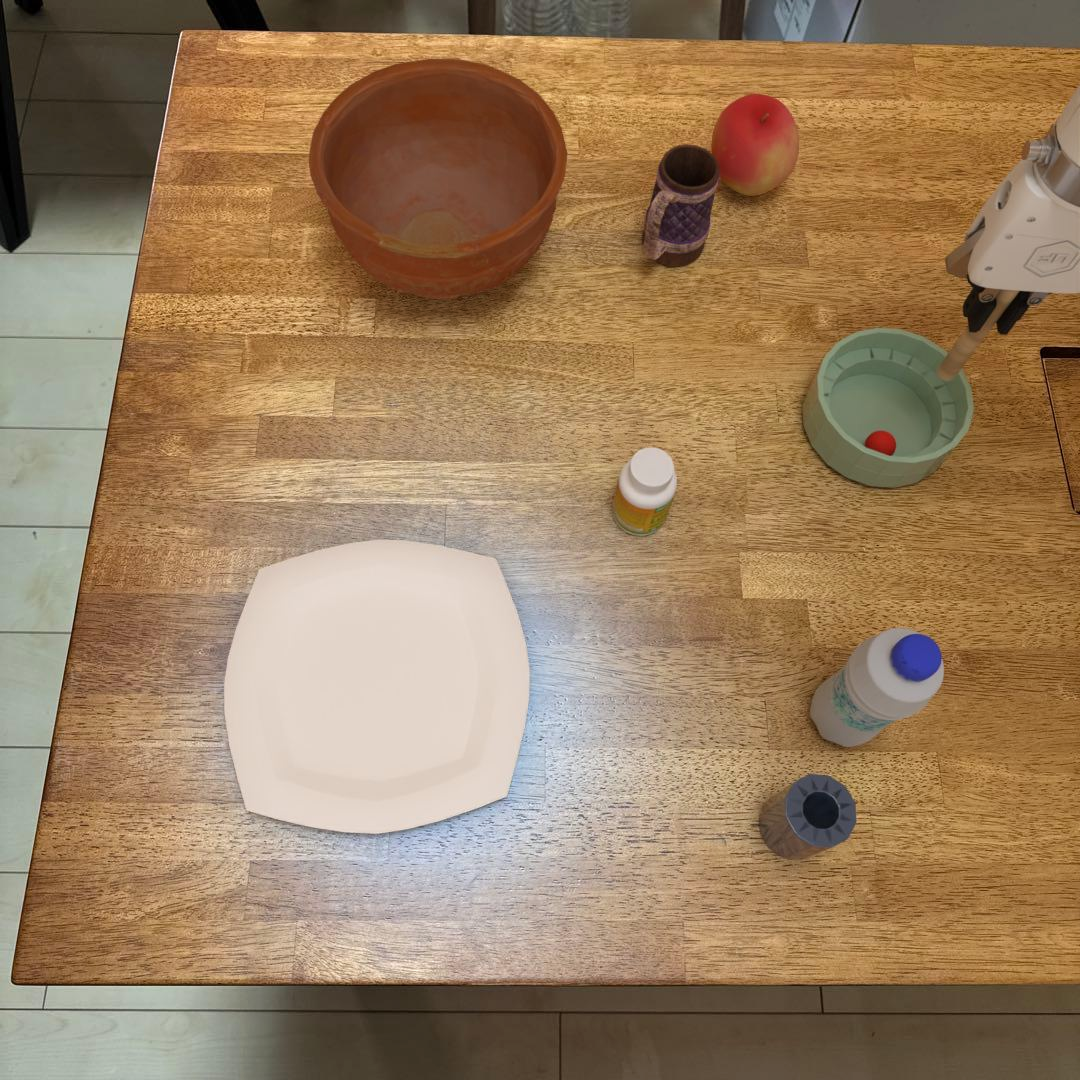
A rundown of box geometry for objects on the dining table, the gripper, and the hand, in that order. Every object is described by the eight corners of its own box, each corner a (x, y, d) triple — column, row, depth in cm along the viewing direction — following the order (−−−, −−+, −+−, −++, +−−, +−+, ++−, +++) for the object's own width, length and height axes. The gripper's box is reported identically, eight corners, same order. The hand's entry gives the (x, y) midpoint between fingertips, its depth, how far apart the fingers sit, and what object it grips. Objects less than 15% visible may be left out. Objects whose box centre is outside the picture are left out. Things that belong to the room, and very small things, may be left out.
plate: (237, 552, 97) (232, 544, 95) (521, 541, 98) (522, 532, 96) (219, 845, 86) (213, 842, 84) (537, 827, 88) (538, 824, 86)
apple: (696, 204, 115) (713, 137, 106) (709, 142, 119) (726, 72, 110) (780, 221, 115) (804, 155, 106) (790, 158, 119) (814, 89, 109)
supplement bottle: (650, 546, 98) (665, 503, 89) (602, 521, 99) (611, 475, 90) (675, 503, 100) (692, 457, 91) (627, 478, 101) (639, 430, 92)
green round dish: (941, 366, 108) (965, 333, 102) (955, 495, 102) (981, 467, 96) (798, 356, 108) (814, 322, 102) (804, 484, 102) (821, 455, 96)
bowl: (311, 331, 107) (283, 235, 93) (356, 151, 117) (336, 40, 103) (545, 359, 107) (551, 267, 93) (570, 175, 116) (579, 68, 103)
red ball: (906, 436, 100) (893, 452, 99) (893, 455, 103) (880, 471, 101) (880, 419, 101) (867, 435, 100) (867, 439, 104) (854, 454, 102)
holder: (821, 795, 89) (854, 776, 81) (824, 861, 87) (858, 849, 79) (758, 791, 89) (784, 771, 81) (759, 857, 87) (786, 844, 79)
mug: (663, 207, 115) (680, 125, 104) (716, 238, 114) (739, 159, 103) (612, 265, 112) (623, 187, 101) (665, 298, 110) (683, 222, 99)
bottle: (891, 716, 92) (987, 651, 74) (846, 769, 90) (933, 715, 72) (833, 665, 94) (912, 589, 76) (787, 716, 92) (858, 650, 74)
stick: (955, 365, 96) (1023, 273, 83) (956, 381, 95) (1025, 291, 82) (935, 363, 96) (1000, 271, 83) (937, 380, 95) (1002, 289, 82)
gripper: (989, 194, 69) (897, 350, 86) (1222, 209, 69) (1084, 362, 86) (977, 112, 72) (890, 278, 89) (1200, 127, 72) (1070, 290, 89)
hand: (986, 318), depth 87 cm, fingers closed on stick, 1 cm apart
